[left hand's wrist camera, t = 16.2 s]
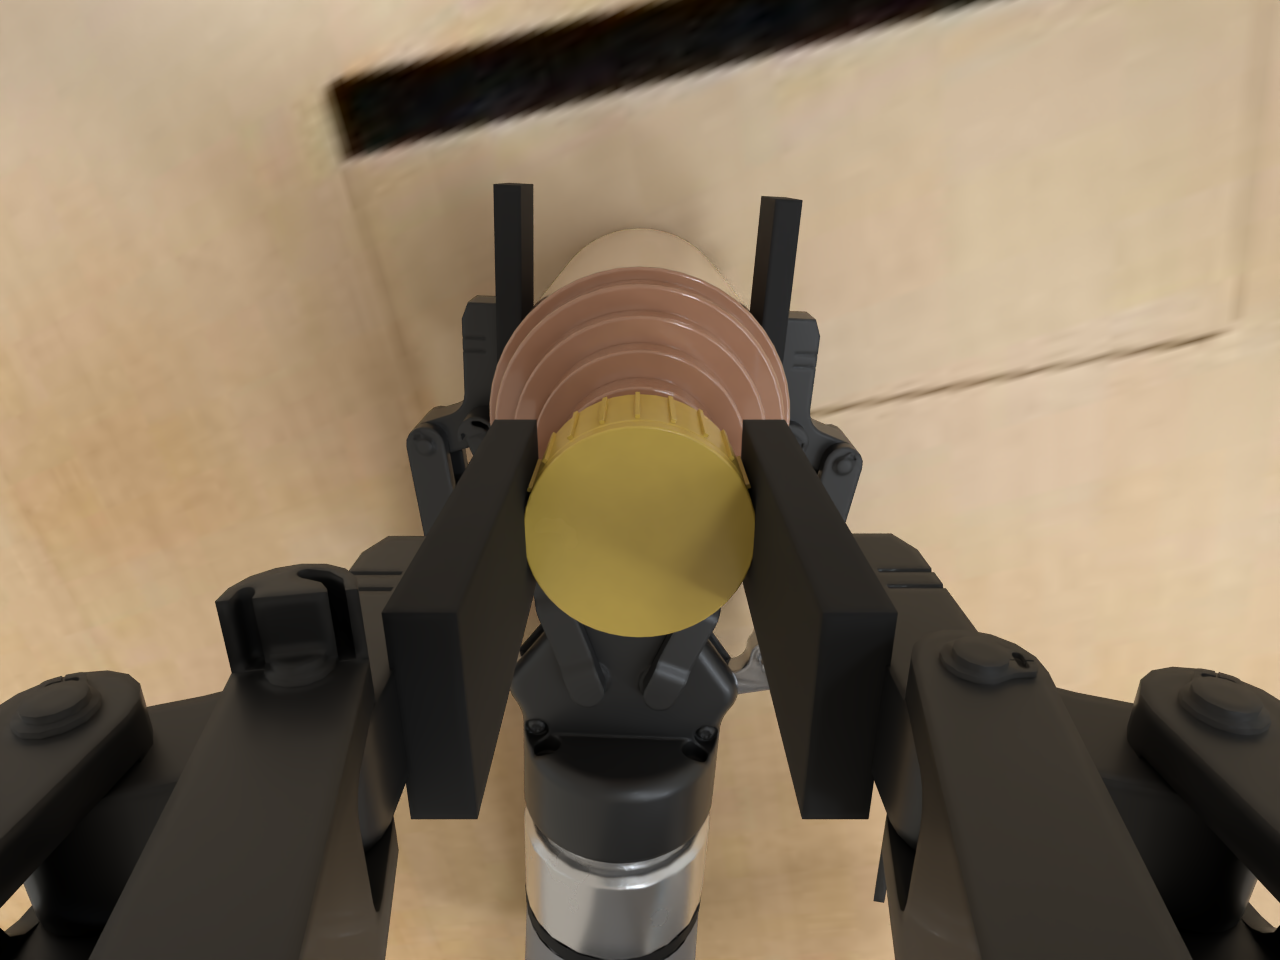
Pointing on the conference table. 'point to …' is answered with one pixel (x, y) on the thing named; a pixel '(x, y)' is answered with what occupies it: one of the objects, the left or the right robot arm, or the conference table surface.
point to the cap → (639, 517)
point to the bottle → (639, 340)
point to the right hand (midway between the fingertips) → (647, 192)
